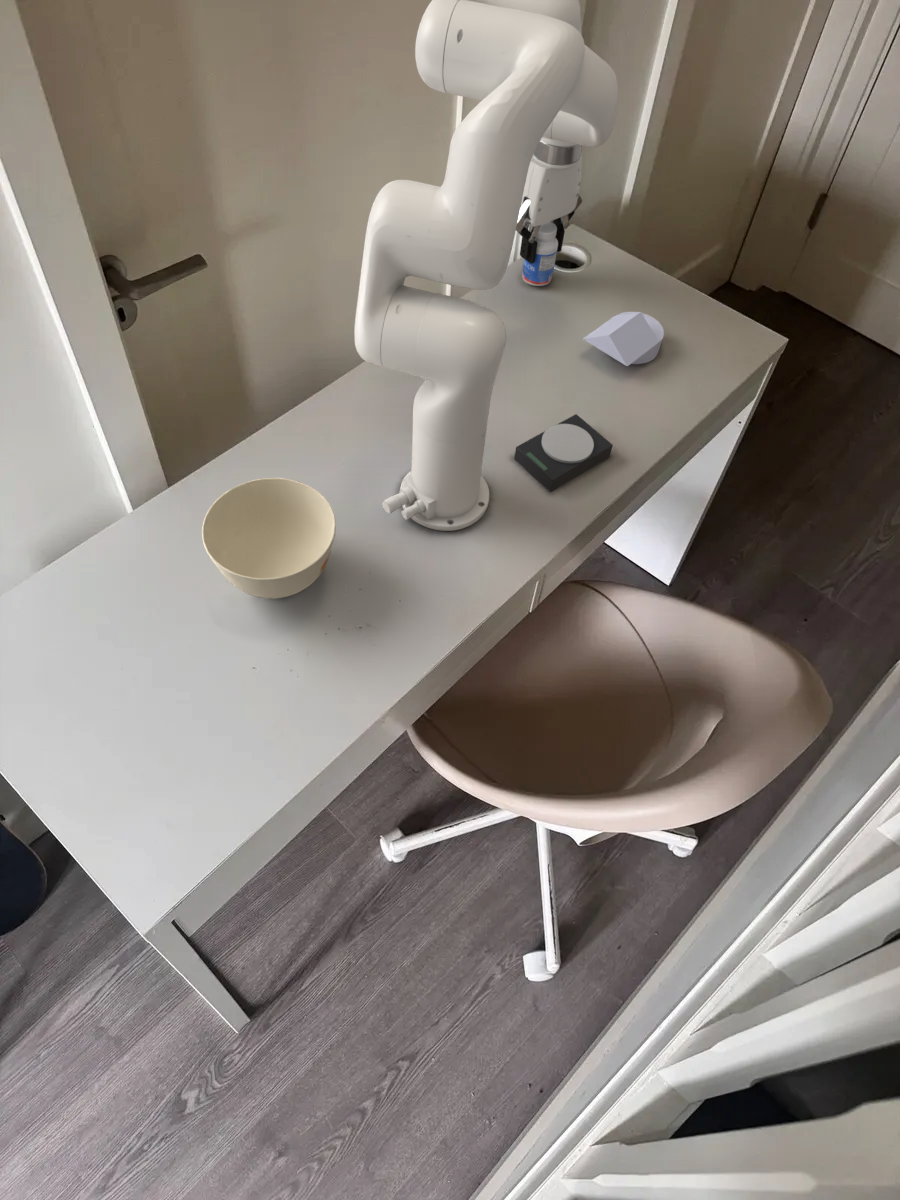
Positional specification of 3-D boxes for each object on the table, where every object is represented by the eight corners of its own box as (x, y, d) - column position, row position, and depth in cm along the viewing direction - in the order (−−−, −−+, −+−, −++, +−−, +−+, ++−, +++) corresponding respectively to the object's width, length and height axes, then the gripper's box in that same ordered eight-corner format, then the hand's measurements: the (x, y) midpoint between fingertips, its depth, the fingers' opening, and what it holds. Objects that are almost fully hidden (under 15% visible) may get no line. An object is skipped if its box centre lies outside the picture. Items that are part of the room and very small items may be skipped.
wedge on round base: (622, 383, 137) (669, 346, 143) (632, 349, 132) (680, 312, 138) (578, 355, 141) (625, 321, 146) (586, 321, 135) (635, 287, 141)
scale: (550, 492, 123) (553, 477, 121) (513, 458, 126) (516, 444, 124) (609, 457, 128) (614, 442, 125) (573, 425, 131) (576, 411, 129)
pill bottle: (515, 272, 152) (523, 220, 144) (542, 266, 153) (551, 214, 145) (530, 290, 149) (538, 238, 141) (557, 283, 151) (566, 231, 143)
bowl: (279, 509, 119) (271, 458, 110) (365, 571, 113) (363, 522, 105) (189, 579, 111) (173, 529, 103) (276, 648, 106) (267, 602, 98)
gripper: (580, 122, 138) (562, 228, 152) (499, 151, 131) (488, 258, 146) (613, 143, 134) (591, 248, 149) (532, 173, 128) (517, 281, 142)
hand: (540, 252), depth 147 cm, fingers closed on pill bottle, 5 cm apart
